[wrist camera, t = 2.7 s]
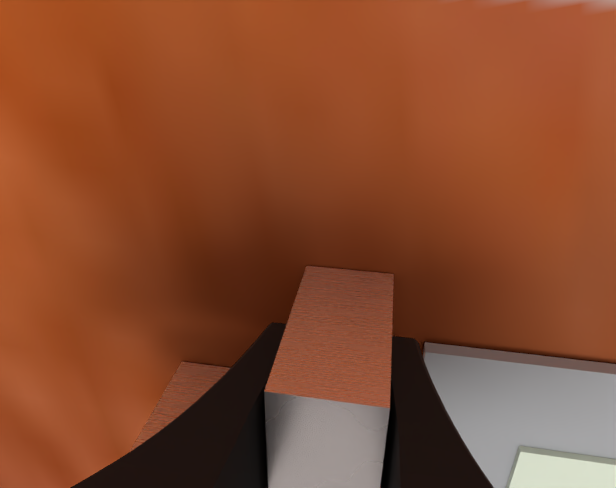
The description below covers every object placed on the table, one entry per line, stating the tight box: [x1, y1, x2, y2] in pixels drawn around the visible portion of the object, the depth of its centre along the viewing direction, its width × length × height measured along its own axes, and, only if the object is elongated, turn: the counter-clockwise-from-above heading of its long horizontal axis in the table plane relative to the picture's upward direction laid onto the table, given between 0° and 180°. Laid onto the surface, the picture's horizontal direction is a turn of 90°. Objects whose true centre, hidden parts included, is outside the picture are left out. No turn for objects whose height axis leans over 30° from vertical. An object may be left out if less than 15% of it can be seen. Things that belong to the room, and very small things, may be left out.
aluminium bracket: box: [130, 266, 394, 488], centre depth 12 cm, size 6×6×4 cm
